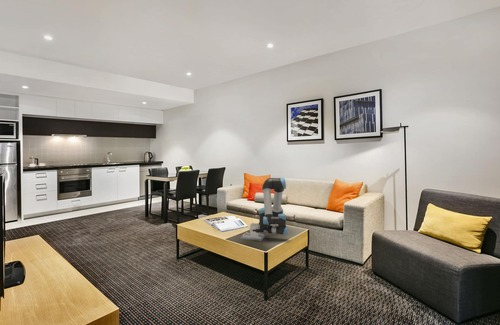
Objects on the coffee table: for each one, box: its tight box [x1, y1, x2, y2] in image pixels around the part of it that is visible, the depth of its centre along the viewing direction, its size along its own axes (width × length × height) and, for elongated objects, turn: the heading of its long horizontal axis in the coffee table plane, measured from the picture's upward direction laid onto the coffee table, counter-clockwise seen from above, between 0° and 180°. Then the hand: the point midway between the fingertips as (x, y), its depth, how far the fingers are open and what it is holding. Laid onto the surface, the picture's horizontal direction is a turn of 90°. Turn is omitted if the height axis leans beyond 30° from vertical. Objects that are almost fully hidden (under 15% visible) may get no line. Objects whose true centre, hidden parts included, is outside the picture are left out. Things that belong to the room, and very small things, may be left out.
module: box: [249, 222, 261, 237], centre depth 261 cm, size 6×8×13 cm
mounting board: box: [239, 231, 266, 242], centre depth 262 cm, size 16×22×2 cm
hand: (251, 227), depth 262 cm, fingers open, 13 cm apart
